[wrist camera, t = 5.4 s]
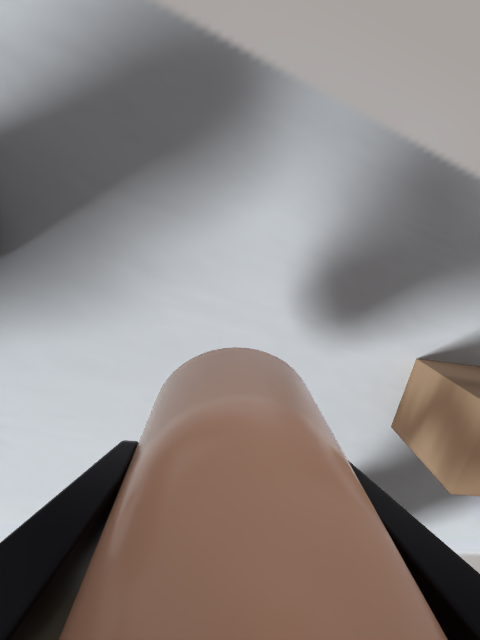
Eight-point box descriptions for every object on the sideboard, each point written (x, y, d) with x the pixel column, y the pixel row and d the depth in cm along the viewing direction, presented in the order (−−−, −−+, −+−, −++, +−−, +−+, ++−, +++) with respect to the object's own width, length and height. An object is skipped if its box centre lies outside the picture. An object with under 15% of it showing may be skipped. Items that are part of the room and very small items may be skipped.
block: (457, 432, 19) (539, 499, 14) (390, 425, 18) (450, 494, 13) (487, 366, 17) (590, 417, 12) (415, 358, 17) (493, 407, 12)
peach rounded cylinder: (295, 486, 10) (448, 1014, 3) (149, 477, 9) (-35, 1089, 3) (329, 357, 8) (749, 836, 2) (158, 338, 8) (-220, 931, 1)
